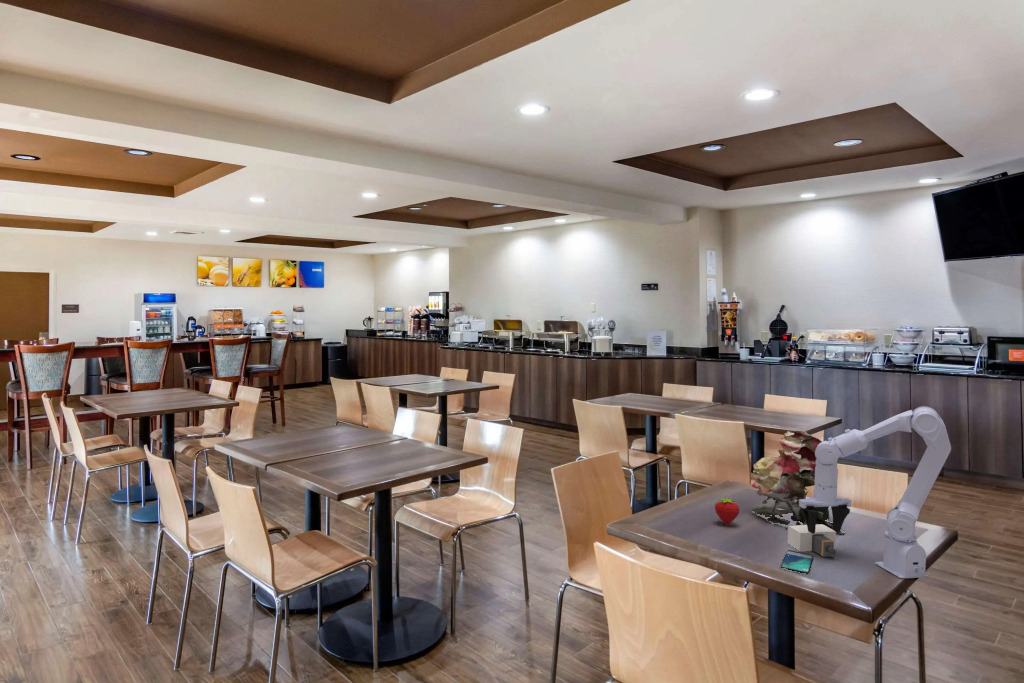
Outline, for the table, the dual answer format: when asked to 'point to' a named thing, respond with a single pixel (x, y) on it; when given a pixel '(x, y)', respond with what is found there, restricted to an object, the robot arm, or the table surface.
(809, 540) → the socket block
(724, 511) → the strawberry
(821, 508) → the rose bouquet
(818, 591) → the table surface
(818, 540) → the plug
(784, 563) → the smartphone
